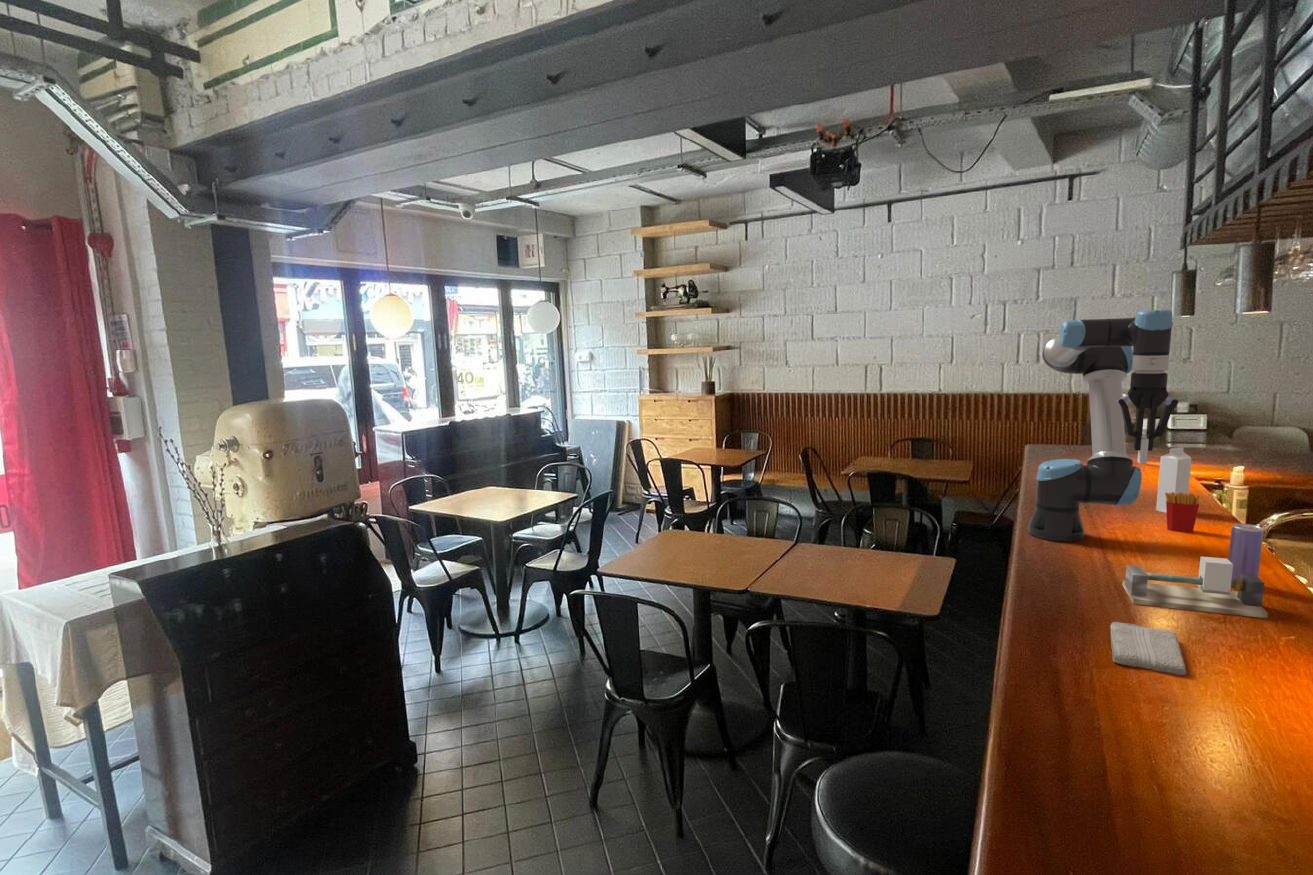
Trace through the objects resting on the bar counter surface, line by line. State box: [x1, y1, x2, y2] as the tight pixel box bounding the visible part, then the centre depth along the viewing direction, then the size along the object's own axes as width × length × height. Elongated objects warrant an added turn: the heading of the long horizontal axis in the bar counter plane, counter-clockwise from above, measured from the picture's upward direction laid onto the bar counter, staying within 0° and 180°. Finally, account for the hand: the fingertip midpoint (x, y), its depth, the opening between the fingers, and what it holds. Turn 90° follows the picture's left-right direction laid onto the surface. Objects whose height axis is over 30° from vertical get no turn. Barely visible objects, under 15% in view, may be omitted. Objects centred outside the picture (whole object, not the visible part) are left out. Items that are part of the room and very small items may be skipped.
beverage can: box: [1227, 523, 1264, 581], centre depth 169 cm, size 6×6×15 cm
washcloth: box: [1110, 621, 1187, 676], centre depth 140 cm, size 12×18×3 cm, turn 150°
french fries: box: [1165, 492, 1200, 533], centre depth 211 cm, size 8×4×12 cm, turn 57°
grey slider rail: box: [1122, 564, 1269, 619], centre depth 162 cm, size 25×12×7 cm, turn 66°
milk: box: [1155, 446, 1192, 514], centre depth 229 cm, size 6×6×22 cm
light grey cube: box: [1197, 556, 1233, 595], centre depth 160 cm, size 5×4×7 cm
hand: (1141, 462), depth 177 cm, fingers closed
